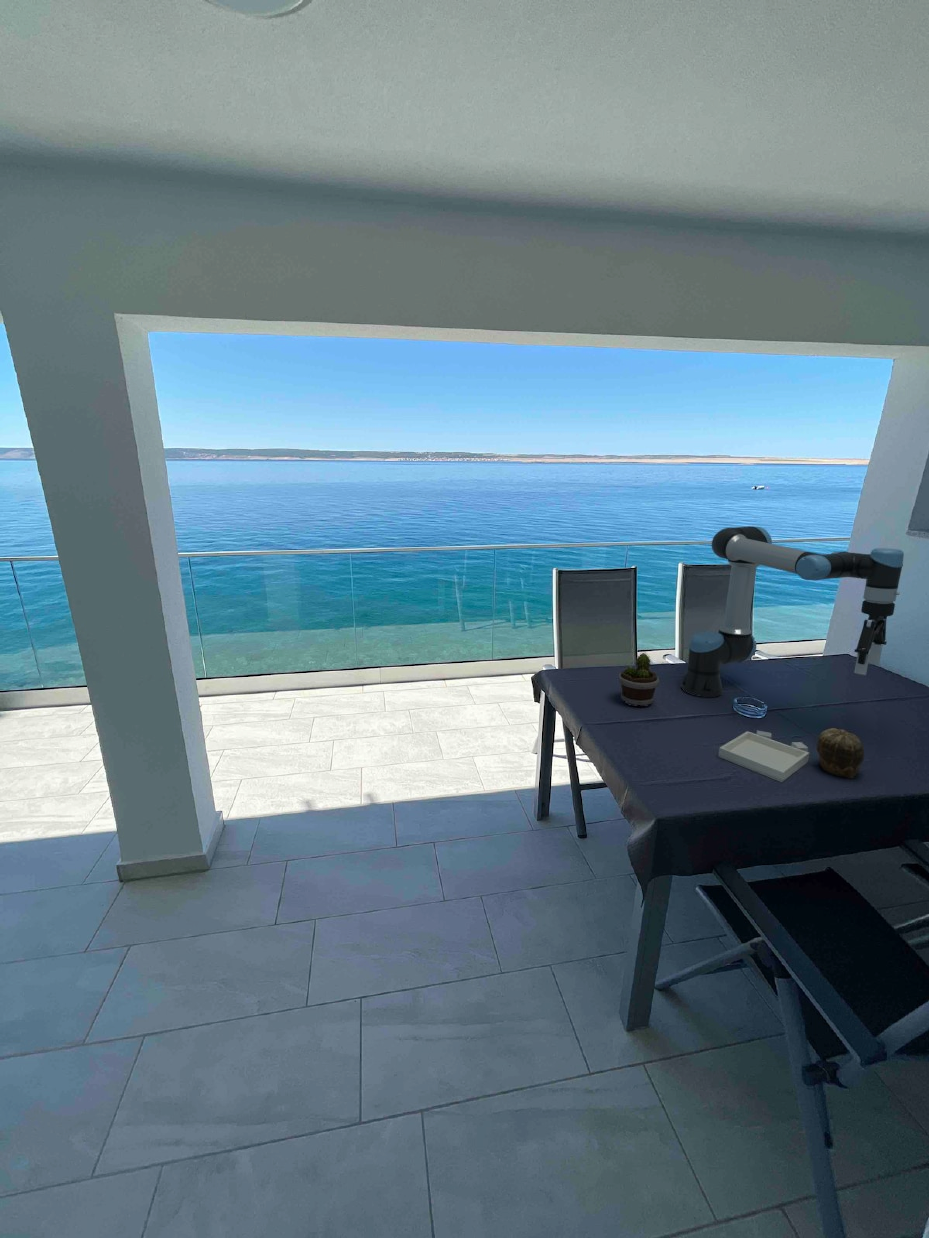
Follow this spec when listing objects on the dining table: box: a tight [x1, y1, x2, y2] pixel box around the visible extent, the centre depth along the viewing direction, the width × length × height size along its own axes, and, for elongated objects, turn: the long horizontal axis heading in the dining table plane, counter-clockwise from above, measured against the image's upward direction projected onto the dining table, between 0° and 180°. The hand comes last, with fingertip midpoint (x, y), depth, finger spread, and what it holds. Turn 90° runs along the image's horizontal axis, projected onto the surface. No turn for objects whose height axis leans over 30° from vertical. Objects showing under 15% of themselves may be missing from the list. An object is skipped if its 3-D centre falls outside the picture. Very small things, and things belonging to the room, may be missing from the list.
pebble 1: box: [756, 730, 772, 740], centre depth 162 cm, size 4×3×2 cm
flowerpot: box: [617, 651, 660, 707], centre depth 190 cm, size 14×15×20 cm
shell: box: [816, 727, 865, 779], centre depth 142 cm, size 11×11×12 cm
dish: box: [717, 730, 810, 783], centre depth 150 cm, size 18×18×3 cm
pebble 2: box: [790, 741, 809, 752], centre depth 154 cm, size 4×3×2 cm
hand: (866, 668), depth 154 cm, fingers open, 13 cm apart
